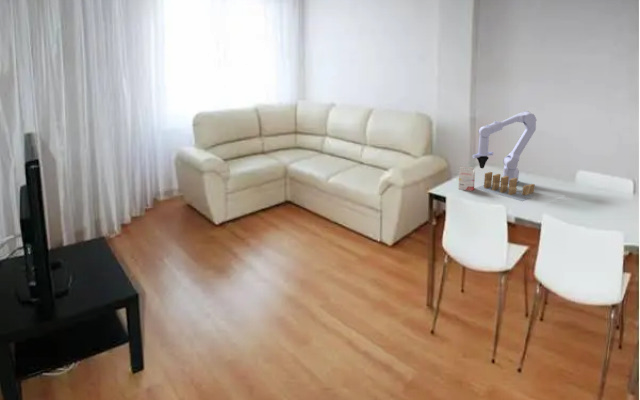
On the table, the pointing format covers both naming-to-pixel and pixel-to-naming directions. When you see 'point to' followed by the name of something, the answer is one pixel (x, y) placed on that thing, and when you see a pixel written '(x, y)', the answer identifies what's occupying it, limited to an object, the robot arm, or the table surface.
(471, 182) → the ink cartridge box
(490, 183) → the domino
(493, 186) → the domino
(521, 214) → the table surface
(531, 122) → the robot arm
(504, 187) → the domino
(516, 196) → the mat
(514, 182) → the domino
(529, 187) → the loose domino
